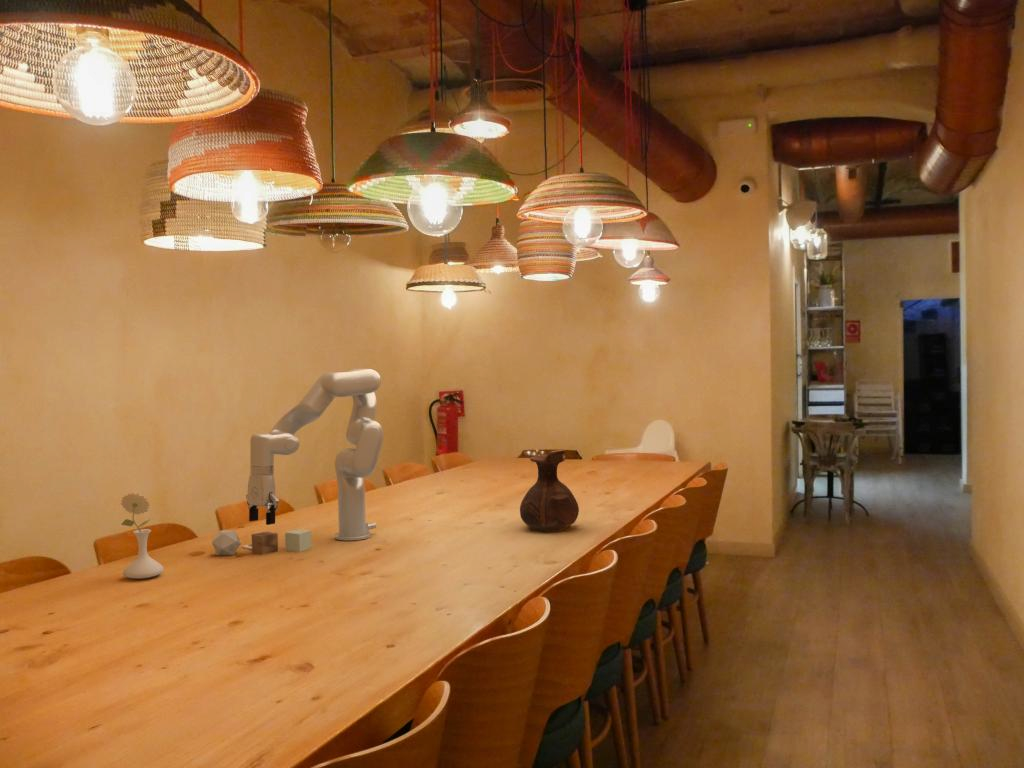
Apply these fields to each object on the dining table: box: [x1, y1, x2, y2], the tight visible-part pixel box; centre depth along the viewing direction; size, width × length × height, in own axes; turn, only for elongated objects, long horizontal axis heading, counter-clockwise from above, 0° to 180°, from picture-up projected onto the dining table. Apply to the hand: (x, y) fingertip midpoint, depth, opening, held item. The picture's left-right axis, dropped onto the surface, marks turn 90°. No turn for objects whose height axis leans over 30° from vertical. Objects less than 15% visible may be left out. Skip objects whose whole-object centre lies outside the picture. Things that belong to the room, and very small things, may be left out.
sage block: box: [284, 529, 312, 553], centre depth 299 cm, size 6×6×6 cm
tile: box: [241, 543, 252, 551], centre depth 304 cm, size 8×8×1 cm
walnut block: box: [251, 531, 279, 556], centre depth 296 cm, size 6×6×6 cm
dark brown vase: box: [519, 449, 580, 532], centre depth 325 cm, size 22×22×30 cm
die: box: [211, 529, 242, 556], centre depth 293 cm, size 8×9×10 cm
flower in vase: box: [120, 492, 165, 580], centre depth 265 cm, size 13×11×25 cm
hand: (262, 522), depth 295 cm, fingers open, 9 cm apart
